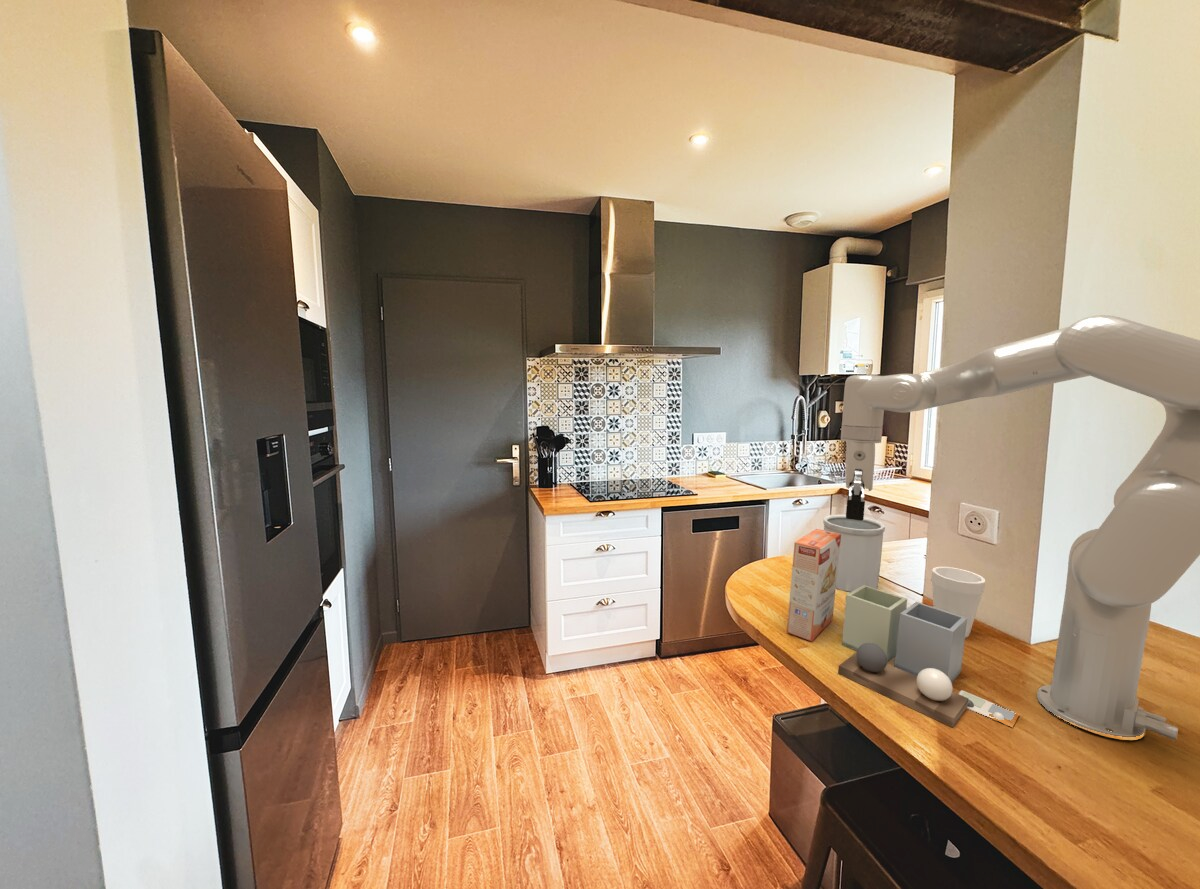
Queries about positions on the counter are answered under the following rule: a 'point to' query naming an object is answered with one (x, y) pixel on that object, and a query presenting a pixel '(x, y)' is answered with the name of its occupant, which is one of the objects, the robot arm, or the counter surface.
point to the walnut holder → (905, 691)
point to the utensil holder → (857, 551)
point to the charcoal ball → (871, 657)
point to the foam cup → (957, 592)
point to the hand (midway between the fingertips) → (854, 513)
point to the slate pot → (930, 640)
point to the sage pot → (872, 619)
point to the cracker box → (813, 583)
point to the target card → (986, 707)
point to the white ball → (934, 684)
